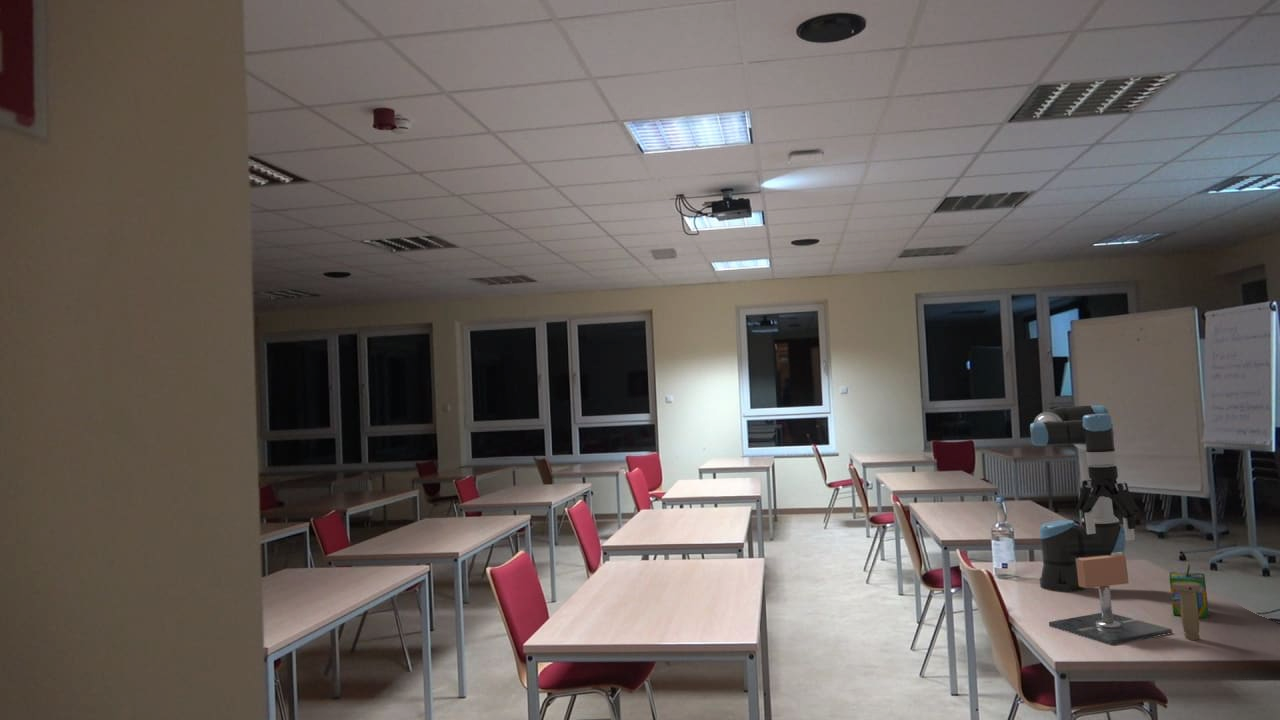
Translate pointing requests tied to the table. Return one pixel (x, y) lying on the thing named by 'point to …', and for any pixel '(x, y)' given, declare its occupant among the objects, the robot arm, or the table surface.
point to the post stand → (1109, 624)
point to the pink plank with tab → (1102, 570)
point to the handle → (1188, 608)
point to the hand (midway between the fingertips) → (1110, 536)
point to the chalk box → (1199, 595)
